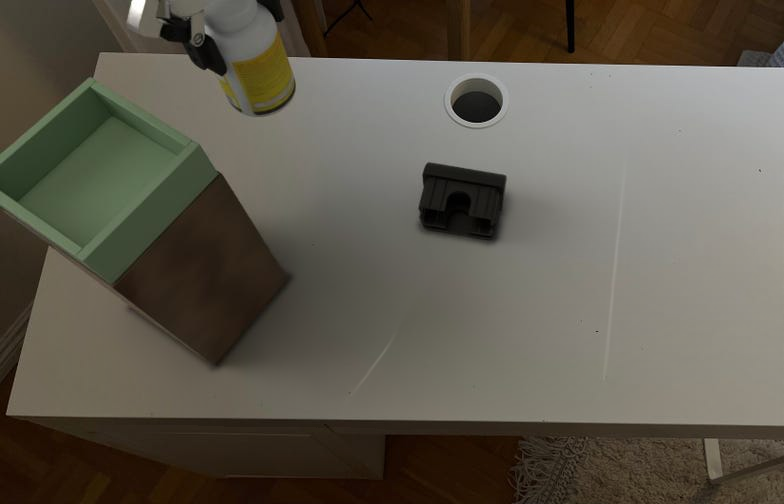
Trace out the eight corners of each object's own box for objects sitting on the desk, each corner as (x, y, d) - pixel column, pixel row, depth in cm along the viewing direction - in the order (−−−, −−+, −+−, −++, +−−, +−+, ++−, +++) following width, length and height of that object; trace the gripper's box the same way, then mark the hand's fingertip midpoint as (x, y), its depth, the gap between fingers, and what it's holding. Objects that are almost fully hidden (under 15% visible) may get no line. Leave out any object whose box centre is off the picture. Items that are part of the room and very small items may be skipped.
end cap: (504, 193, 85) (508, 165, 79) (495, 241, 82) (498, 216, 76) (429, 181, 86) (427, 152, 79) (418, 228, 83) (414, 202, 76)
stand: (214, 366, 74) (112, 287, 53) (131, 307, 77) (1, 210, 55) (288, 278, 79) (222, 173, 58) (207, 226, 82) (115, 106, 60)
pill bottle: (311, 86, 63) (282, -11, 52) (266, 131, 60) (226, 40, 50) (259, 57, 64) (220, -43, 54) (213, 100, 62) (164, 4, 51)
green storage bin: (112, 284, 53) (82, 261, 49) (5, 209, 55) (-32, 181, 51) (219, 174, 57) (200, 144, 53) (115, 109, 60) (90, 76, 56)
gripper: (206, -258, 44) (274, -36, 60) (-6, -122, 37) (134, 87, 53) (293, -220, 42) (339, -3, 58) (87, -71, 36) (203, 128, 52)
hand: (240, 39), depth 56 cm, fingers closed on pill bottle, 6 cm apart
